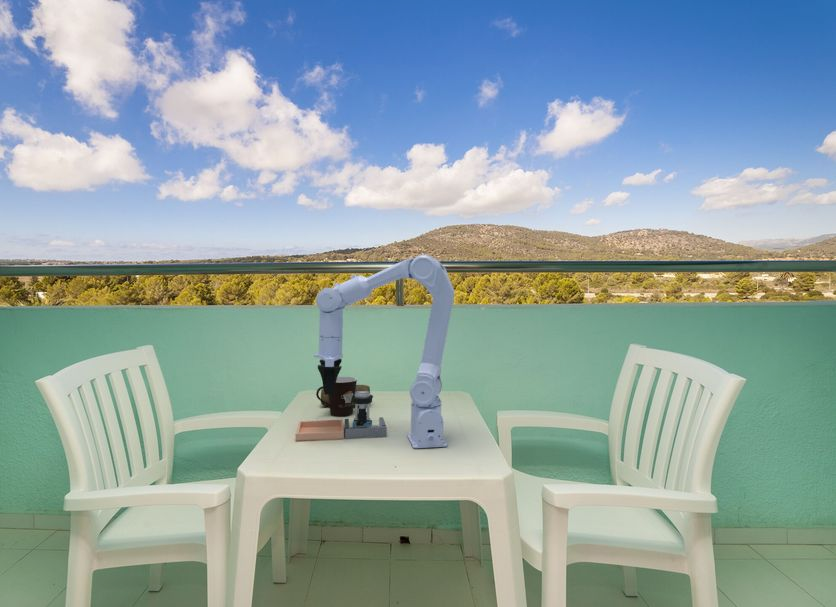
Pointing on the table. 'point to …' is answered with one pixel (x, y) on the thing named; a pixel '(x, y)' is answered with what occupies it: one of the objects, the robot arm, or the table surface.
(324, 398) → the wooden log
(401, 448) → the table surface
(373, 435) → the bracket
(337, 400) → the coffee mug
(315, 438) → the tray
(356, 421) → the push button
